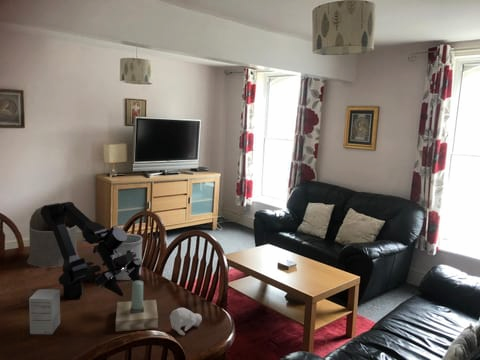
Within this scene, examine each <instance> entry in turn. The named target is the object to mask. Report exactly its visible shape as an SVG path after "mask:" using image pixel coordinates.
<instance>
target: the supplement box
mask: <svg viewBox="0 0 480 360" xmlns="http://www.w3.org/2000/svg"><path fill="white" fill-rule="evenodd" d="M60 291H61V290H60V289H52V288H51V289H50V288H49V289H42V288H40V289H39V288H38V289H37V290H36V291H35V292H34V293H33V294H32V295H31V296H30V297H29V298H28V303H29V306H28V307H29V309H28V310H29V313H28V315H29V334H31V335H53V334H54V333H55V331H56V329H57V328H58V327H59V326H60V323H61V301H60V299H61V296H60V295H61V292H60Z"/></svg>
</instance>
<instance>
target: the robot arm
mask: <svg viewBox="0 0 480 360" xmlns="http://www.w3.org/2000/svg"><path fill="white" fill-rule="evenodd" d="M41 207H42V209H41V215H42V217H43V219H44V221H45V223H47V224H48V225H49V226H51V227H52V230H53V232H54V235H55V238H56V241H57V243H58V246H59V249H60V251H61V254H62V257H63V259H64V263H63V266H62V272H63V273H62V274H61V275H60V276H59V277H58V282H59V284H60V285H62V287H63V290H62V291H63V292H62V293H63V295H62V300H63V301H66V300H68V301H69V300H80V299H81V297H82V295H83V293H84V284H83V283H82V281H84V280H86V279H85V277H86V274H87V272H88V270H87V265H86V263H87V262H86V261H85V260H86V259H85V258H84V257H80V256H79V257H78V256H77V255H76V252H75V249H74V247H73V244H72V241H71V239H70V236H69V233H68V231H67V228H66V225H65V218H66V217H67V218H69V219H70V220H71V221H72V222H73V223H74V224H75V225H76V226H77V229H79V230H80V231H81V234H82V237H83V238H84V240H85V241H86V242H87V243H88V244H90V245H93V244H96V245H93V250H92V254H96V253H98V255H99V256H100V258H101V260H102V261H103V263H102V266H103V267H106V268H107V270H105V271H103V272H100V273H101V274H100V275H99V276H98V277H97V278H96V280H95V285H96V286H97V288H99V287H101V288H102V289H103V288H105V289H107V290H109V291H111V292H113V293H115V294H116V295H118V296H120V297H121V298H122V297H124V296H125V295H124V293H123V291H122V288H121V287H120V285H119V284H118V282H117V279H116V276H117V275H119V274H121V273H124V272H127V273H129V274H128V276H129V277H130V278H131V279H130V280H131V281H132V282H133V281H142V280H141V275H140V276H139V269H140V267H141V268H142V265H143V260H142V261H141V260H140V259H138V258H137V259H134V257H136V253H135V251H134V250H133V249H131V250H128V251H127V254H124V255H122V254H121V253H120V252H119V253H117V251H116V250H115V249H117V248H118V247H119V246H120V245H121V244H122V243H123V242H124V241H125V240H126V239H127V234H128V233H127V232H126V231H125V230H123V229H122V228H119V227H118V226H117V225H113V226H111V227H110V229H107V228H106V227H105V226H104V225H103V224H101V223H98V222H96V221H95V222H94V221H93V220H91V219H90V218H89V217H88V216H87V215H85V214H84V213H83V212H82V211H81V210H80V209H79V208H78V207H77V206H76V205H75V203H74V202H73V201H65V202H61V203H60V202H57V203H52V204H51V203H49V204H45V205H43V206H41ZM130 261H131V262H130ZM129 262H130V263H129ZM128 263H129V264H128ZM127 264H128V265H127ZM141 264H142V265H141ZM125 265H126V266H125ZM121 270H122V271H121ZM117 272H118V273H117Z"/></svg>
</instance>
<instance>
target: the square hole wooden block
mask: <svg viewBox="0 0 480 360" xmlns="http://www.w3.org/2000/svg"><path fill="white" fill-rule="evenodd" d="M131 304H132V300H129V301H118V302H117V306H116V314H115V315H116V317H115V332H124V331H125V332H127V331H137V330H149V329H150V330H151V329H158V327H159V323H158V322H159V317H158V308H157V299H149V300H148V299H145V300H144V299H143V313H131Z"/></svg>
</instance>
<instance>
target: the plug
mask: <svg viewBox="0 0 480 360" xmlns="http://www.w3.org/2000/svg"><path fill="white" fill-rule="evenodd" d="M131 301H132V304H131V313H143V301H144V281H143V280H141V281H133V280H132V282H131Z"/></svg>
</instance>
